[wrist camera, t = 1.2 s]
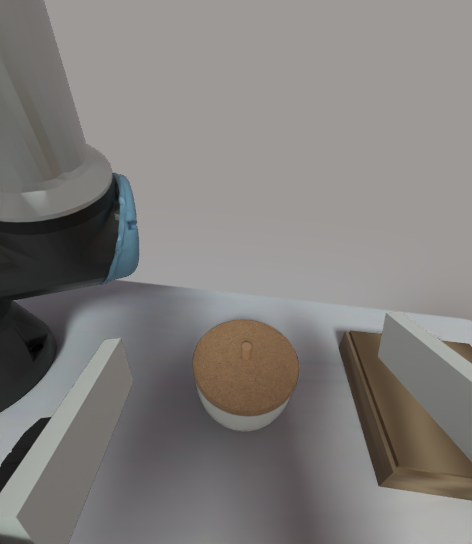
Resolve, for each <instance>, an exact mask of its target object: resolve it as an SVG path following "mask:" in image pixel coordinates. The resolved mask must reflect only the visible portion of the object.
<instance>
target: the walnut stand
mask: <svg viewBox="0 0 472 544" xmlns="http://www.w3.org/2000/svg"><path fill="white" fill-rule="evenodd" d="M381 337H382V334H375V333H366V332H357V331H350V332H347V331H345V334H344V336H343V339H342V341H341V343H340V346H339V350H340V353H341V357H342V360H343V364H344V367H345V370H346V374H347V377H348V381H349V384H350V388H351V391H352V395H353V398H354V402H355V405H356V408H357V412H358V415H359V419H360V422H361V426H362V429H363V433H364V436H365V440H366V443H367V446H368V450H369V453H370V457H371V460H372V464H373V467H374V471H375V474H376V477H377V481H378V484H379V486H381V487H388V488H394V489H401V490H407V491H414V492H420V493H427V494H433V495H440V496H446V497H453V498H459V499H466V500H472V462H471V461H470V459H469V458H468V457H467V456H466V455H465V454H464V453H463V452H462V451H461V449H460V448H459V447H458V446H457V445H456V444H455V443H454V442H453V440H452V439H451V438H450V437H449V436H448V435H447V434H446V433H445V431H444V430H443V429H442V428H441V427H440V426H439V425H438V424H437V422H436V421H435V420H434V419H433V418H432V417H431V416H430V415H429V414H428V412H427V411H426V410H425V409H424V408H423V407H422V406H421V405H420V403H419V402H418V401H417V400H416V399H415V398H414V397H413V396H412V394H411V393H410V392H409V391H408V390H407V389H406V388H405V387H404V385H403V384H402V383H401V382H400V381H399V380H398V379H397V378H396V376H395V375H394V374H393V373H392V372H391V371H390V370H389V369H388V368H387V366H386V365H385V364H384V363H383V362H382V361H381V360H380V359H379V357H378V352H379V347H380V342H381ZM442 342H443V343H444V344H446V345H447V346H448V347H450V348H451V349H452V350H454V351H455V352H457V353H458V354H459V355H461V356H462V357H463V358H465V359H466V360H467V361H469V362H470V363H471V364H472V347H471V346H470V344H466V343H457V342H448V341H442Z"/></svg>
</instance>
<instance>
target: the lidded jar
mask: <svg viewBox="0 0 472 544" xmlns="http://www.w3.org/2000/svg"><path fill="white" fill-rule="evenodd" d="M192 366H193V374H194V379H195V382H196V388H197V391H198V394H199V397H200V400H201V402H202V404H203V406H204V407H205V409H206V411H207V412H208V413H209V415H210V416H211V417H212V418H213V419H214V420H215V421H217V422H218V423H220V424H221V425H223V426H224V427H227V428H229V429H232V430H236V431H245V432H246V431H254V430H257V429H261V428H263V427H265V426H267V425H269V424H270V423H271V422H273V421H274V420H275V419H276V418H277V417H278V416H279V415H280V414H281V413H282V411H283V410H284V408H285V406H286V405H287V403H288V402H289V399H290V396H291V394H292V392H293V391H294V388H295V385H296V383H297V380H298V374H299V363H298V358H297V355H296V352H295V350H294V348H293V347H292V345H291V343H290V342H289V341H288V340H287V338H286V337H284V336H283V335H282V334H281V333H280V332H279V331H277V330H276V329H274V328H272V327H271V326H269V325H266V324H264V323H261V322H257V321H252V320H233V321H228V322H225V323H222V324H220V325H217V326H216V327H214V328H212V329H211V330H209V331H208V332H207V333H206V334H205V335H204V336H203V337H202V338H201V339H200V341H199V342H198V344H197V346H196V348H195V351H194V355H193V365H192Z"/></svg>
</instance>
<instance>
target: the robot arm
mask: <svg viewBox="0 0 472 544" xmlns="http://www.w3.org/2000/svg"><path fill="white" fill-rule="evenodd" d="M136 223H137V221H136V209H135V203H134V197H133V193H132V189H131V186H130V183H129V181H128V179H127V178H126V177H125V176H124V175H119V174H116V173H112V169H111V166H110V163H109V162H108V160H107V159H106V157H105V156H104V155H103V154H102V153H100V152H99V151H98V150H96V149H95V148H93V147H91V146H90V145H88V144H86V142H85V138H84V135H83V132H82V128H81V125H80V121H79V118H78V115H77V111H76V108H75V105H74V101H73V98H72V94H71V91H70V87H69V84H68V81H67V78H66V74H65V70H64V67H63V64H62V60H61V57H60V53H59V50H58V47H57V43H56V40H55V36H54V33H53V30H52V26H51V23H50V20H49V16H48V13H47V10H46V6H45V2H44V0H0V412H1V411H3V410H4V409H6V408H7V407H9V406H10V405H12V404H13V403H14V402H16V401H17V400H18V399H20V398H21V397H22V396H23V395H25V394H26V393H27V392H28V391H29V390H30V389H31V388H32V387H33V386H34V385H35V384H36V383H37V382H38V381H39V380H40V379H41V378H42V377H43V375H44V374H45V373H46V371H47V370H48V368H49V367H50V365H51V363H52V361H53V359H54V356H55V352H56V341H55V339H54V337H53V335H52V333H51V331H50V329H49V328H48V326H47V325H46V324H45V323H44V322H43V321H41V320H40V319H38V318H37V317H36V316H34V315H33V314H31V313H30V312H28V311H27V310H26V309H24V308H23V307H21V306H20V305H19V304H17V303H16V302H14V301H13V300H18V299H24V298H29V297H34V296H40V295H45V294H50V293H55V292H61V291H66V290H71V289H76V288H82V287H87V286H92V285H98V284H106V283H107V282H109V281H111V280H115V279H119V278H123V277H127V276H129V275H131V274H132V273H133V272H134V271H135V270H136V268H137V265H138V261H139V236H138V229H137V226H136ZM378 357H379V359H380V360H381V361H382V362H383V363H384V364H385V365H386V366H387V368H388V369H389V370H390V371H391V372H392V373H393V374H394V375H395V376H396V378H397V379H398V380H399V381H400V382H401V383H402V384H403V385H404V387H405V388H406V389H407V390H408V391H409V392H410V393H411V394H412V396H413V397H414V398H415V399H416V400H417V401H418V402H419V403H420V405H421V406H422V407H423V408H424V409H425V410H426V411H427V412H428V414H429V415H430V416H431V417H432V418H433V419H434V420H435V421H436V422H437V424H438V425H439V426H440V427H441V428H442V429H443V430H444V431H445V433H446V434H447V435H448V436H449V437H450V438H451V439H452V440H453V442H454V443H455V444H456V445H457V446H458V447H459V448H460V449H461V451H462V452H463V453H464V454H465V455H466V456H467V457H468V458H469V459H470V461H471V462H472V364H471V363H470V362H469V361H467V360H466V359H465V358H463V357H462V356H461V355H459V354H458V353H457V352H455V351H454V350H452V349H451V348H450V347H448V346H447V345H446V344H444V343H443V342H442V341H440V340H439V339H438V338H436V337H435V336H433V335H432V334H431V333H429V332H428V331H427V330H425V329H424V328H423V327H421V326H420V325H419V324H417V323H416V322H414V321H413V320H412V319H410V318H409V317H408V316H406V315H405V314H404V313H402V312H401V311H399V312H389V313H386V316H385V321H384V326H383V331H382V337H381V342H380V347H379V352H378ZM132 384H133V379H132V375H131V371H130V368H129V364H128V361H127V357H126V354H125V350H124V347H123V343H122V340H121V338H116V339H106V340H104V341H103V343H102V344H101V346H100V347H99V349H98V350H97V352H96V353H95V355H94V356H93V358H92V359H91V360H90V362H89V363H88V365H87V366H86V368H85V369H84V371H83V372H82V374H81V375H80V377H79V378H78V380H77V381H76V383H75V384H74V385H73V387H72V388H71V390H70V391H69V393H68V394H67V396H66V397H65V399H64V400H63V402H62V403H61V405H60V406H59V407H58V409H57V410H56V412H55V413H54V415H53V416H52V417H48V418H40V419H39V420H38V421H37V422H36V423H35V424H34V425H33V426H32V427H30V428H29V429H28V430H27V431H26V432H25V433H24V434H23V435H22V437H21V438H20V439H19V441H18V442H17V443H16V445H15V446H14V447H13V449H12V452H11V453H9V454H8V456H7V457H6V458H5V460H4V461H3V462H2V464H1V467H0V544H69V541H70V539H71V536H72V534H73V531H74V529H75V526H76V524H77V521H78V519H79V516H80V514H81V511H82V509H83V506H84V504H85V501H86V499H87V496H88V494H89V491H90V489H91V486H92V484H93V481H94V479H95V476H96V474H97V471H98V469H99V466H100V464H101V461H102V459H103V456H104V454H105V451H106V449H107V446H108V444H109V442H110V439H111V437H112V434H113V432H114V429H115V427H116V424H117V422H118V419H119V417H120V414H121V412H122V409H123V407H124V404H125V402H126V399H127V397H128V394H129V392H130V389H131V387H132Z"/></svg>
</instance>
